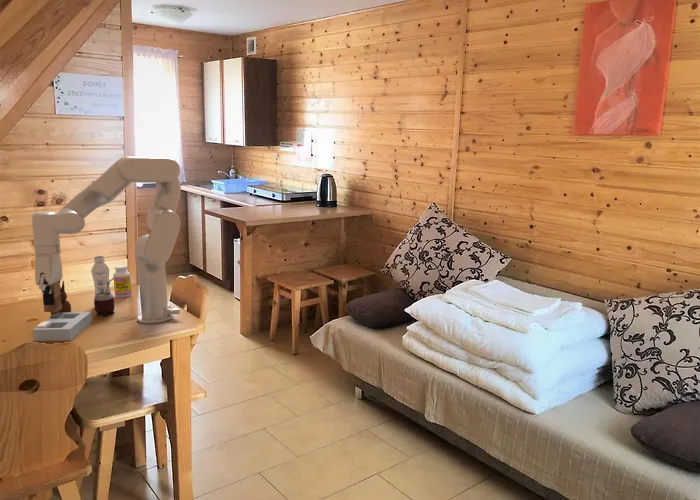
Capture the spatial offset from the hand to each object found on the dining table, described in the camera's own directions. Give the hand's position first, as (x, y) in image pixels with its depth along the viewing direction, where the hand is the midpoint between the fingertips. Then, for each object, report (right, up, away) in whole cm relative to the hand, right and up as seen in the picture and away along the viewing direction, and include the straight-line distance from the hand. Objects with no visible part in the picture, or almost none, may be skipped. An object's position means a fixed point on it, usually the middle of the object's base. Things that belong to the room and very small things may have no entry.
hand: (52, 302), depth 191 cm
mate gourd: (+7, -7, +26) cm, 28 cm away
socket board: (0, -11, +8) cm, 13 cm away
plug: (0, -3, +1) cm, 3 cm away
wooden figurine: (-6, -9, +19) cm, 22 cm away
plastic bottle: (+2, -5, +36) cm, 36 cm away
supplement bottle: (+4, -2, +50) cm, 50 cm away
